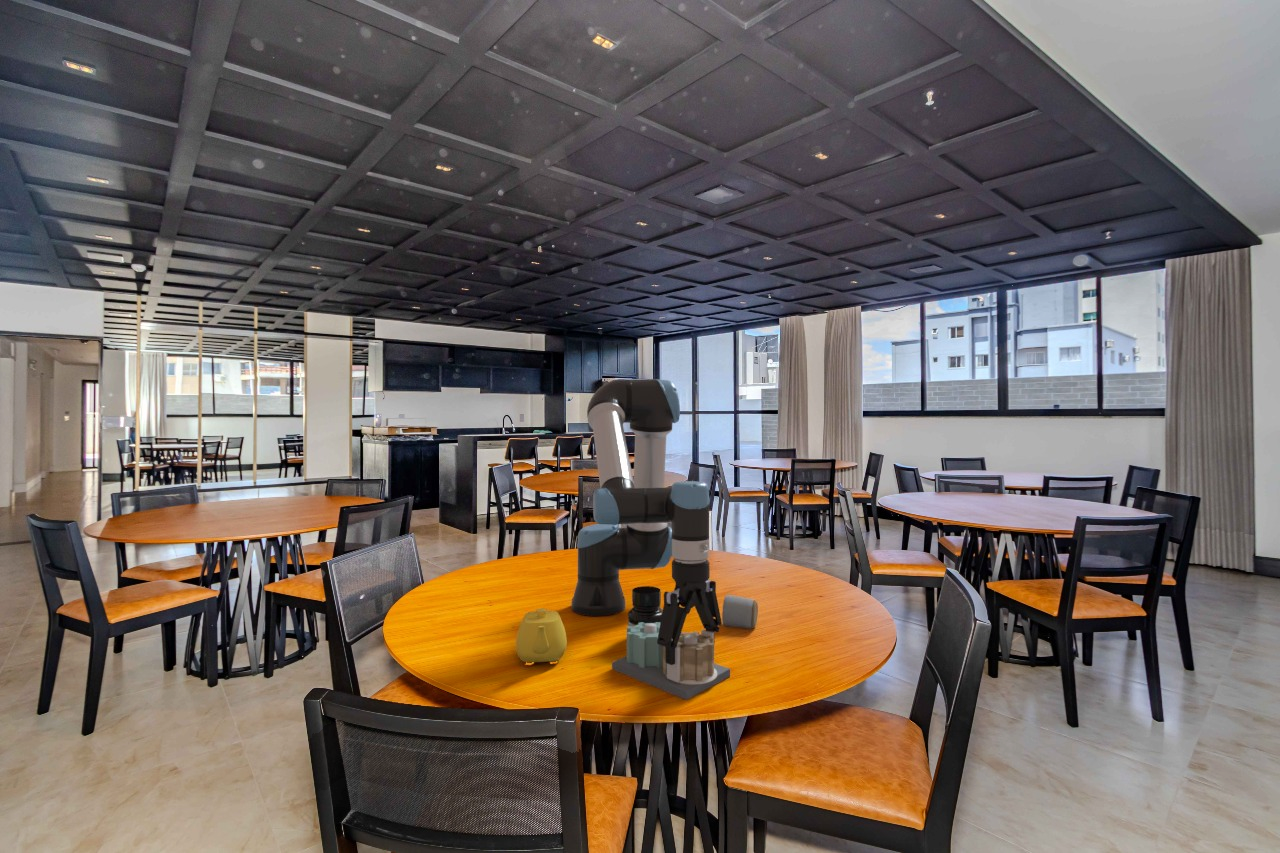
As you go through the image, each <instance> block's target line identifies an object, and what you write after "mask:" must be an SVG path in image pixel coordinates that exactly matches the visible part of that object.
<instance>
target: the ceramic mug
mask: <svg viewBox="0 0 1280 853" xmlns="http://www.w3.org/2000/svg"><path fill="white" fill-rule="evenodd" d="M758 609H759V606H758V602H757V600H755V599H752V598H748V597H741V596H737V595H736V596H735V595H732V594H731V595H730V594H726V595H725V596H724V599H723V604H722V611H721V612H722V614H721V616H722V617H721V622H722V625H723V627H731V628H742V629H748V630H749V629H754V628H756V626H757V622H758V614H759V610H758Z"/></svg>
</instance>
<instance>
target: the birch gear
mask: <svg viewBox="0 0 1280 853" xmlns="http://www.w3.org/2000/svg"><path fill="white" fill-rule="evenodd" d="M686 636H696V637H697V643H696V644H684V637H686ZM672 640H673V639H672ZM677 646H678V647H680V681H683V679H695V680H696V681H702V680H703V677H705V676H707V675H710V676H713V674H714V664H715V644H714V643H713V638H712V637H711V636H703V635H701V633H700V631H692V632H682V631H681V634H680V637H679V641H678V644H677ZM665 656H666V655H665V646H663V673H664V674H665V675H667V663H666V659H665V658H666V657H665Z"/></svg>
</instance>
